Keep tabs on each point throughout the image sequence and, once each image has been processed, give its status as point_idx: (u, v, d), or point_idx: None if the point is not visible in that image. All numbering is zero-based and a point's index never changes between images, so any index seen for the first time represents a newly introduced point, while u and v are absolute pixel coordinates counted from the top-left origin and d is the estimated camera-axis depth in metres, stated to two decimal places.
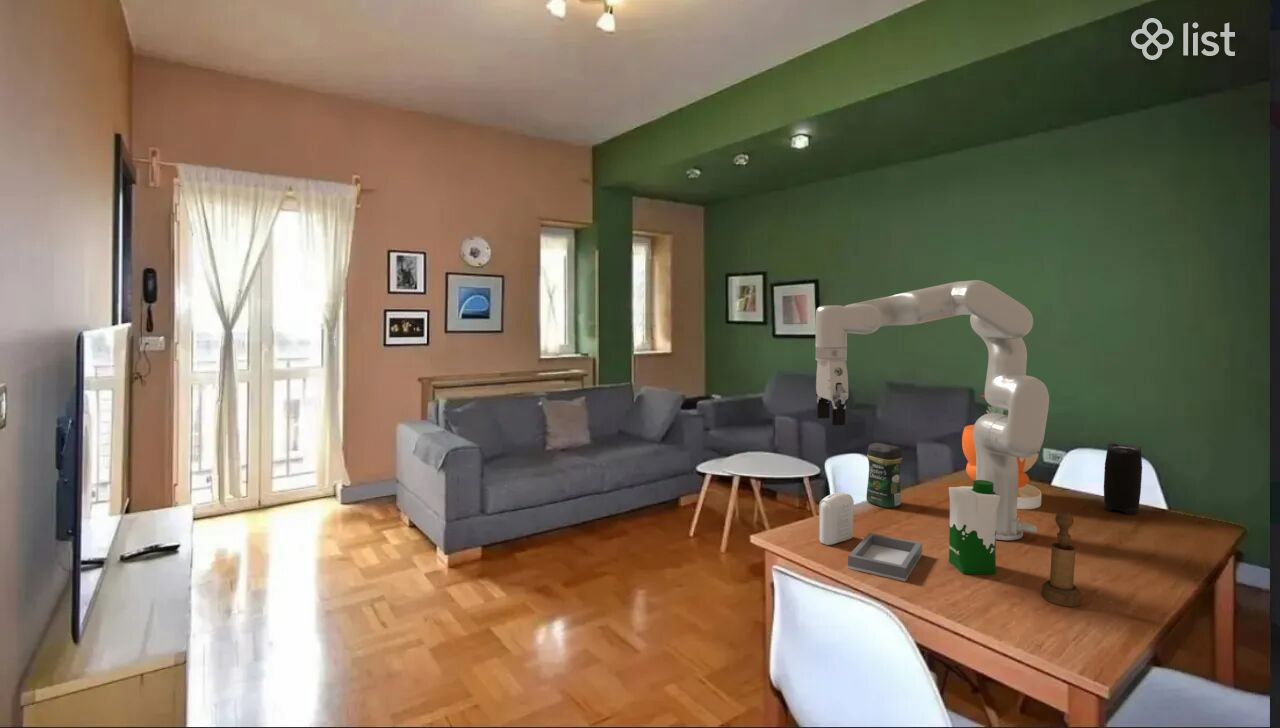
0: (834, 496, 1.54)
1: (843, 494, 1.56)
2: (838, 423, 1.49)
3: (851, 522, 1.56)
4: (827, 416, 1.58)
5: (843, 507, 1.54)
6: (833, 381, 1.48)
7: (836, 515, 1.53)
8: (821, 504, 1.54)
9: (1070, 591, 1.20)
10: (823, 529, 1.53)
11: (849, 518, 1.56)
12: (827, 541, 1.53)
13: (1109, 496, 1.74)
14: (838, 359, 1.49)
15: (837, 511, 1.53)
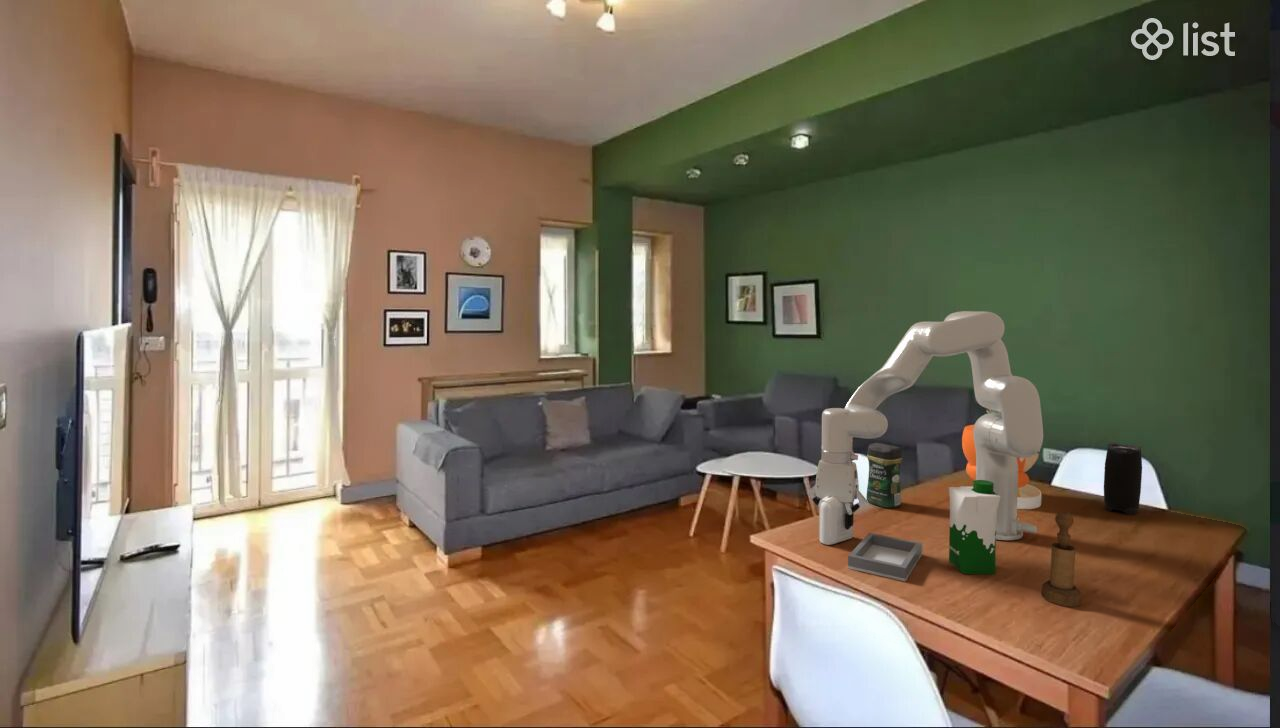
0: None
1: None
2: (849, 526, 1.54)
3: None
4: None
5: (843, 506, 1.54)
6: (854, 484, 1.51)
7: (836, 515, 1.53)
8: (821, 504, 1.54)
9: (1070, 591, 1.20)
10: (823, 529, 1.53)
11: None
12: (827, 541, 1.53)
13: (1109, 496, 1.74)
14: (852, 462, 1.53)
15: (837, 511, 1.53)
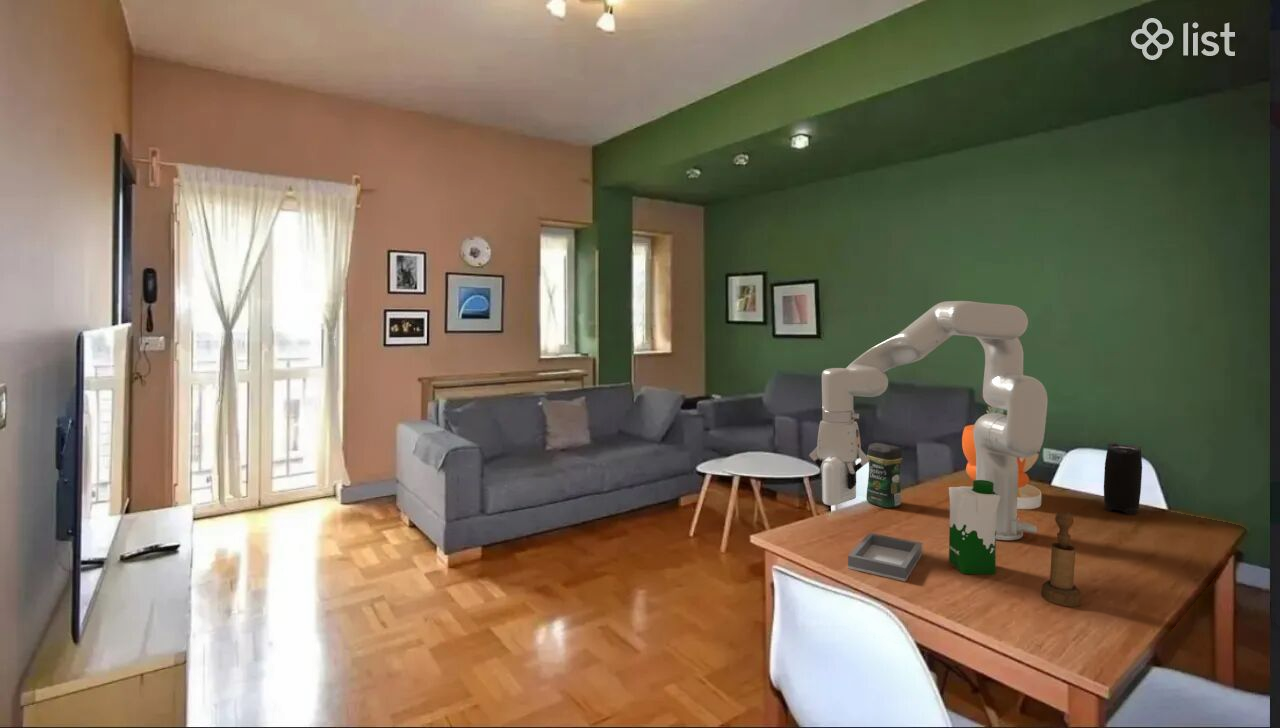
0: None
1: None
2: (852, 486, 1.53)
3: None
4: None
5: (846, 467, 1.53)
6: (856, 443, 1.50)
7: (839, 475, 1.52)
8: (823, 465, 1.53)
9: (1070, 591, 1.20)
10: (827, 489, 1.52)
11: None
12: (830, 502, 1.52)
13: (1109, 496, 1.74)
14: (853, 421, 1.52)
15: (839, 471, 1.52)
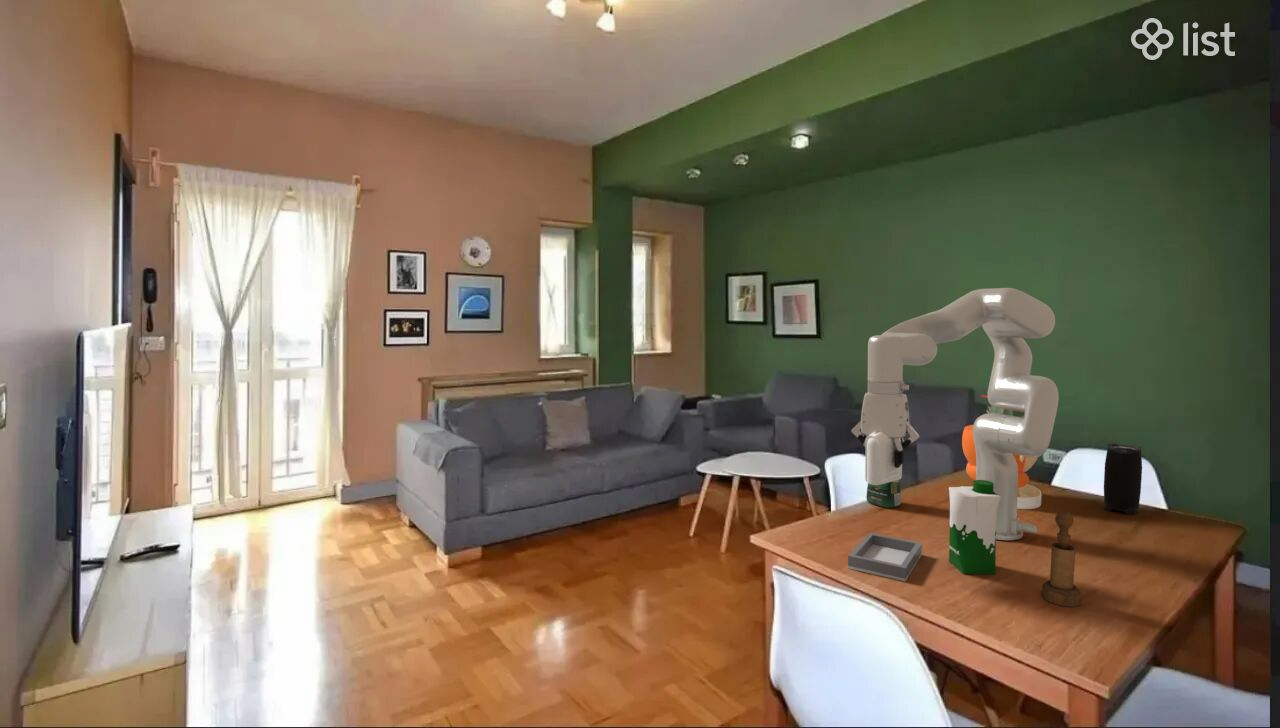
0: None
1: None
2: (899, 465, 1.40)
3: None
4: None
5: (892, 443, 1.40)
6: (905, 417, 1.37)
7: (885, 452, 1.38)
8: (868, 440, 1.39)
9: (1070, 591, 1.20)
10: (871, 467, 1.39)
11: None
12: (875, 481, 1.38)
13: (1109, 496, 1.74)
14: None
15: (886, 447, 1.38)
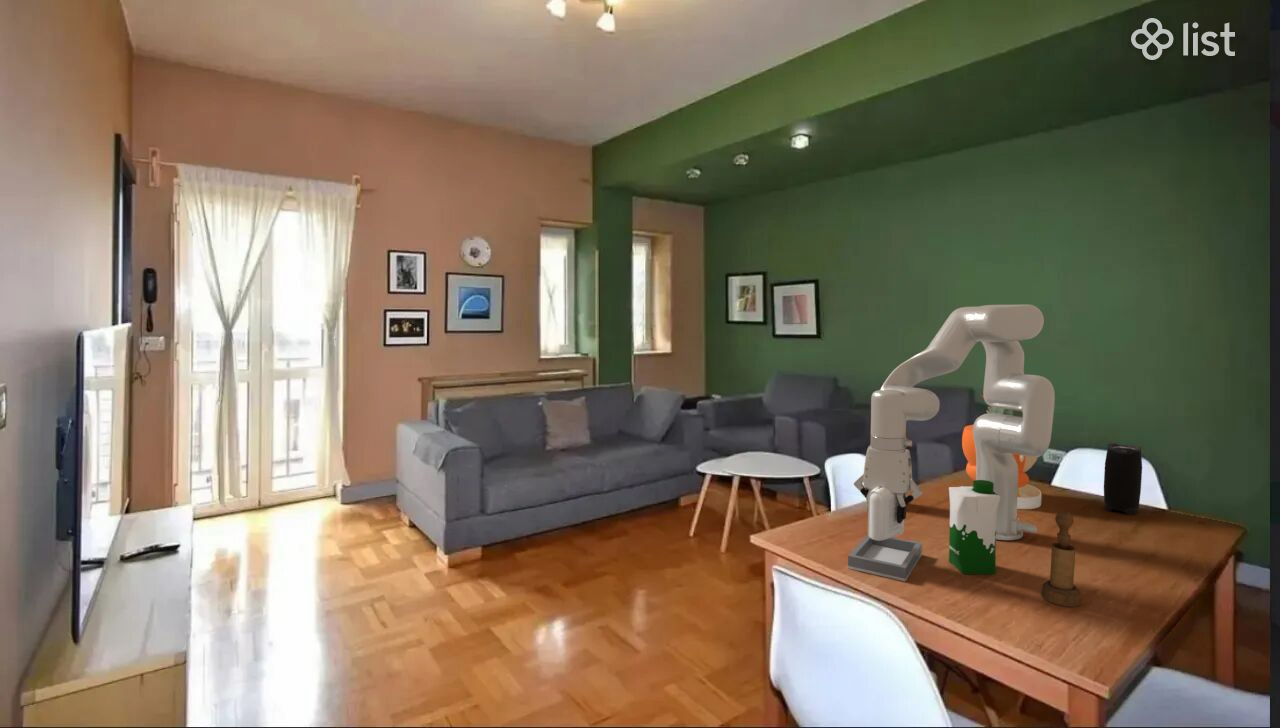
0: (885, 487, 1.39)
1: None
2: (901, 520, 1.40)
3: None
4: None
5: (895, 498, 1.40)
6: (908, 473, 1.37)
7: (888, 507, 1.38)
8: (871, 496, 1.39)
9: (1070, 591, 1.20)
10: (874, 523, 1.39)
11: None
12: (878, 536, 1.38)
13: (1109, 496, 1.74)
14: (905, 449, 1.39)
15: (889, 503, 1.38)
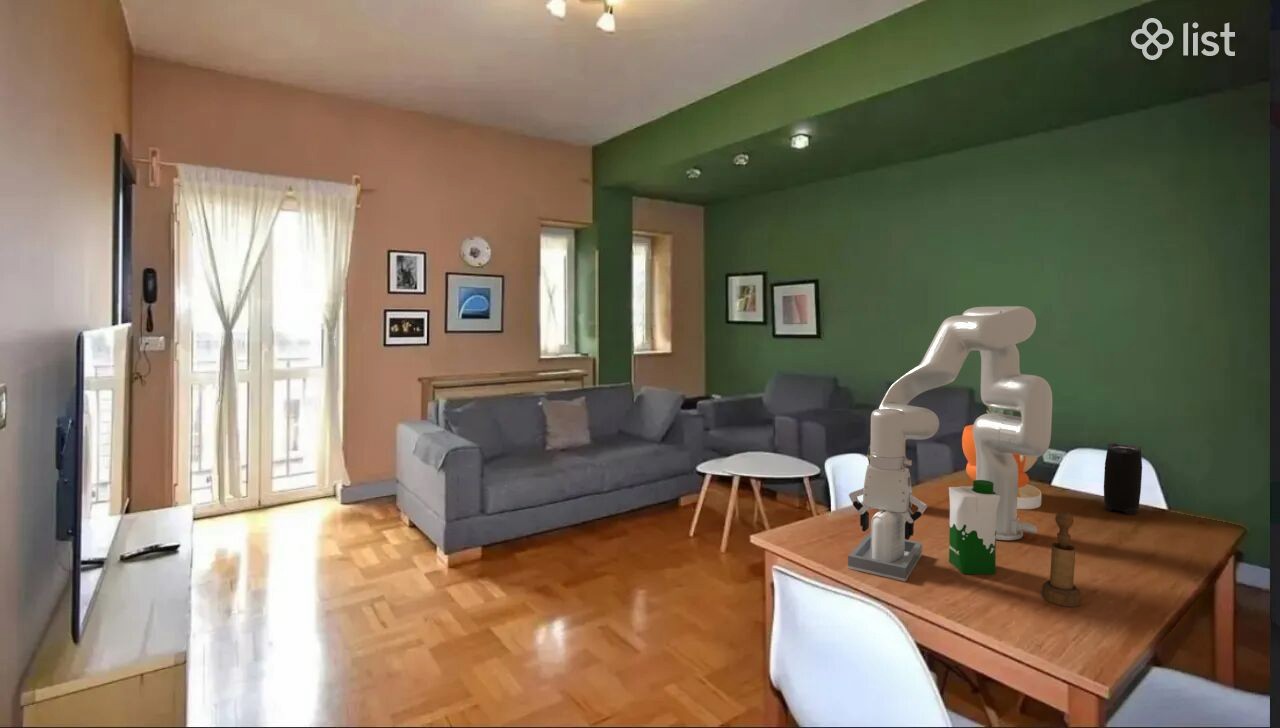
0: (887, 511, 1.40)
1: None
2: (909, 536, 1.39)
3: (903, 539, 1.43)
4: (868, 526, 1.45)
5: (897, 522, 1.40)
6: (908, 493, 1.37)
7: (891, 532, 1.39)
8: (874, 520, 1.40)
9: (1070, 591, 1.20)
10: (877, 548, 1.39)
11: (902, 535, 1.42)
12: None
13: (1109, 496, 1.74)
14: (904, 468, 1.39)
15: (891, 527, 1.39)
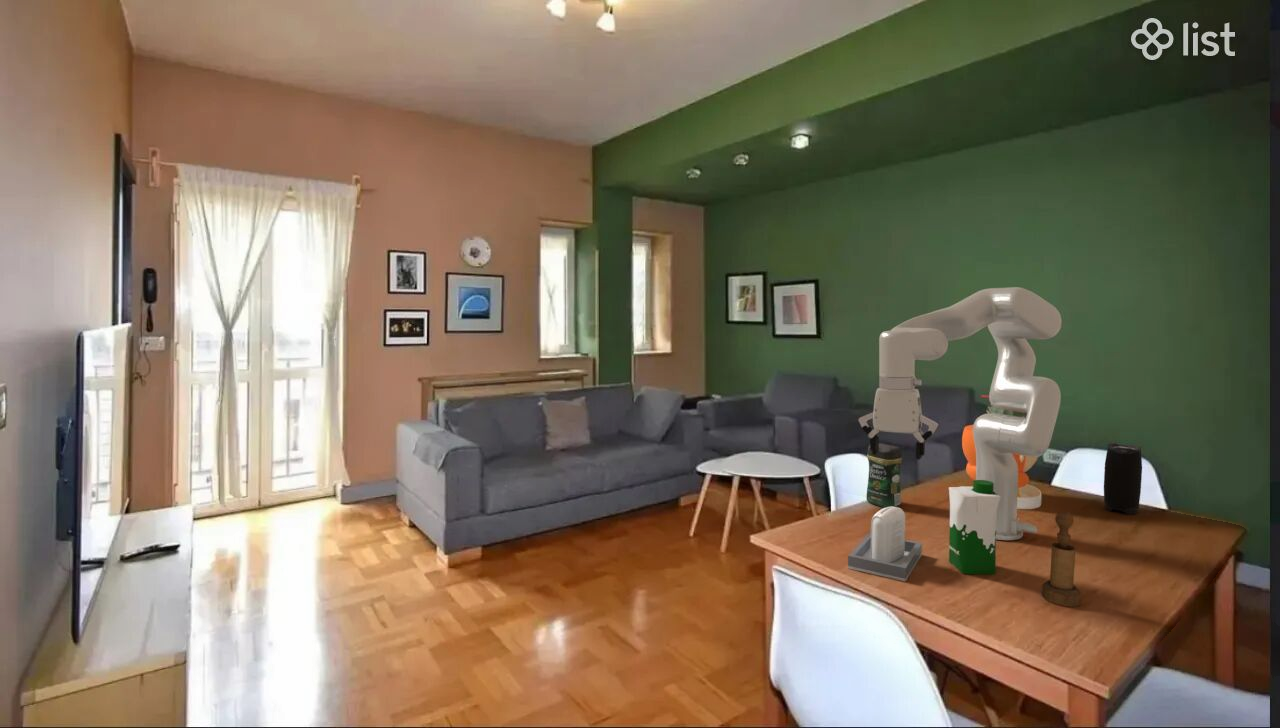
0: (887, 511, 1.40)
1: (895, 508, 1.42)
2: (920, 456, 1.39)
3: (903, 539, 1.43)
4: (878, 450, 1.45)
5: (897, 522, 1.40)
6: (918, 412, 1.37)
7: (891, 532, 1.39)
8: (874, 520, 1.40)
9: (1070, 591, 1.20)
10: (877, 548, 1.39)
11: (902, 535, 1.42)
12: None
13: (1109, 496, 1.74)
14: (914, 388, 1.38)
15: (891, 527, 1.39)
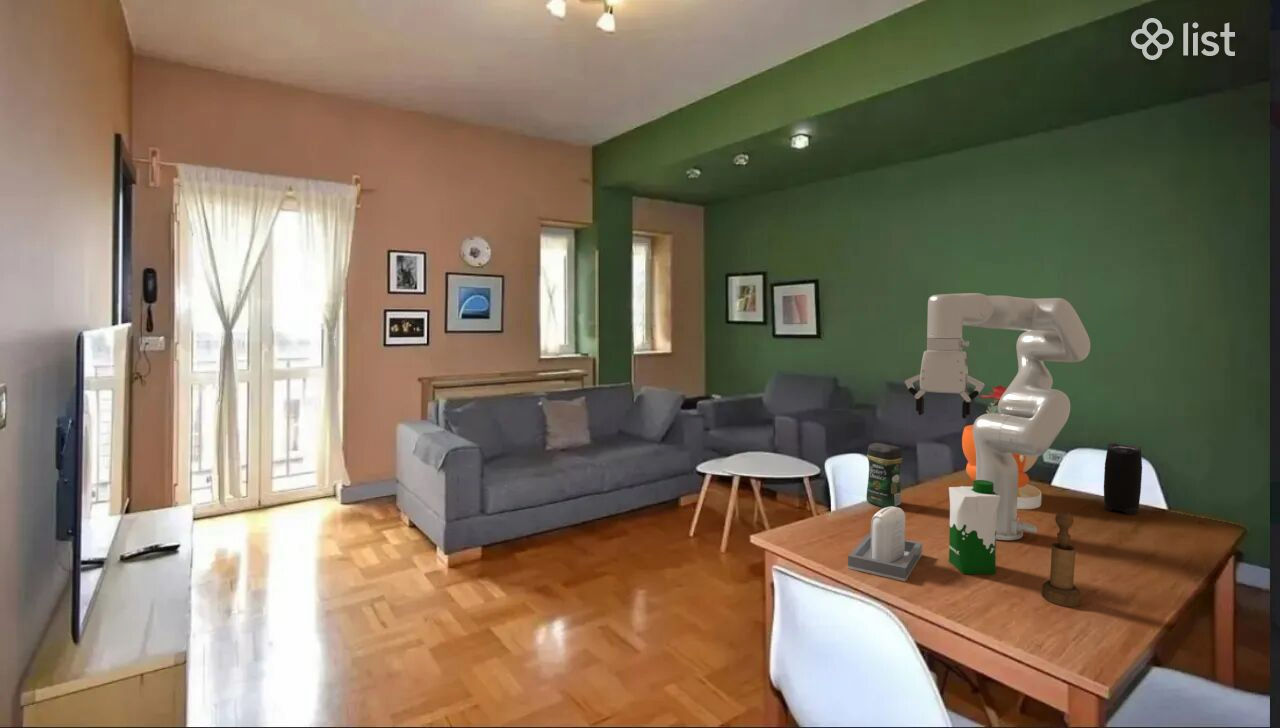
0: (887, 511, 1.40)
1: (895, 508, 1.42)
2: (966, 416, 1.44)
3: (903, 539, 1.43)
4: (923, 412, 1.50)
5: (897, 522, 1.40)
6: (965, 373, 1.42)
7: (891, 532, 1.39)
8: (874, 520, 1.40)
9: (1070, 591, 1.20)
10: (877, 548, 1.39)
11: (902, 535, 1.42)
12: None
13: (1109, 496, 1.74)
14: (961, 350, 1.44)
15: (891, 527, 1.39)
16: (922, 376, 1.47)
